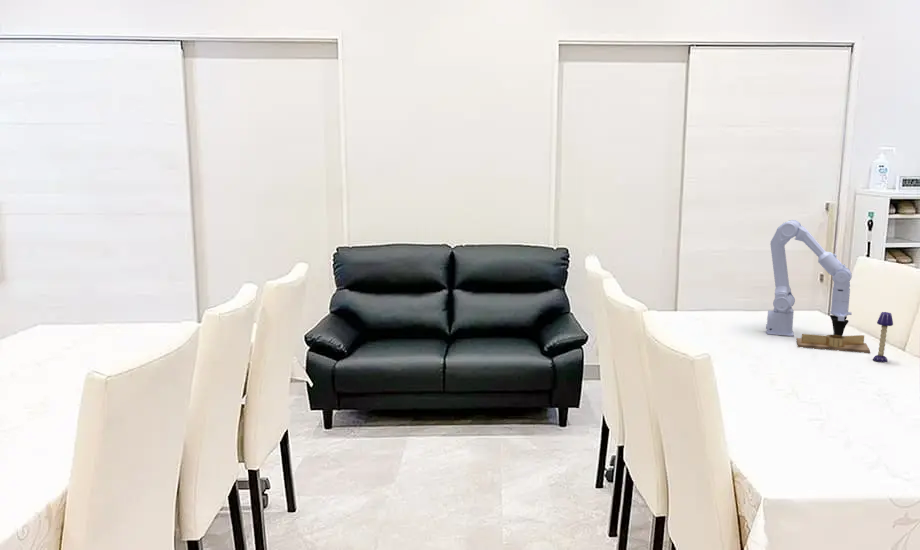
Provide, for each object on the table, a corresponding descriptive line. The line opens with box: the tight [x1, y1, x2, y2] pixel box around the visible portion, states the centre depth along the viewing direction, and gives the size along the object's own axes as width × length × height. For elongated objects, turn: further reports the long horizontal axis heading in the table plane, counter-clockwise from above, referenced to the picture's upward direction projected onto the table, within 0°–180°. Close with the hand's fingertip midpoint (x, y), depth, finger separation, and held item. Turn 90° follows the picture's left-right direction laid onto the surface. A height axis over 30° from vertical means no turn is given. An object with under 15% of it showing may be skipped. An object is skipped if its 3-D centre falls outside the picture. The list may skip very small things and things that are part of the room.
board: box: [796, 337, 871, 354], centre depth 265 cm, size 23×10×1 cm, turn 68°
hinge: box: [801, 333, 865, 348], centre depth 264 cm, size 21×9×3 cm, turn 68°
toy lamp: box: [872, 311, 894, 363], centre depth 245 cm, size 5×5×17 cm
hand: (837, 335), depth 274 cm, fingers open, 4 cm apart
